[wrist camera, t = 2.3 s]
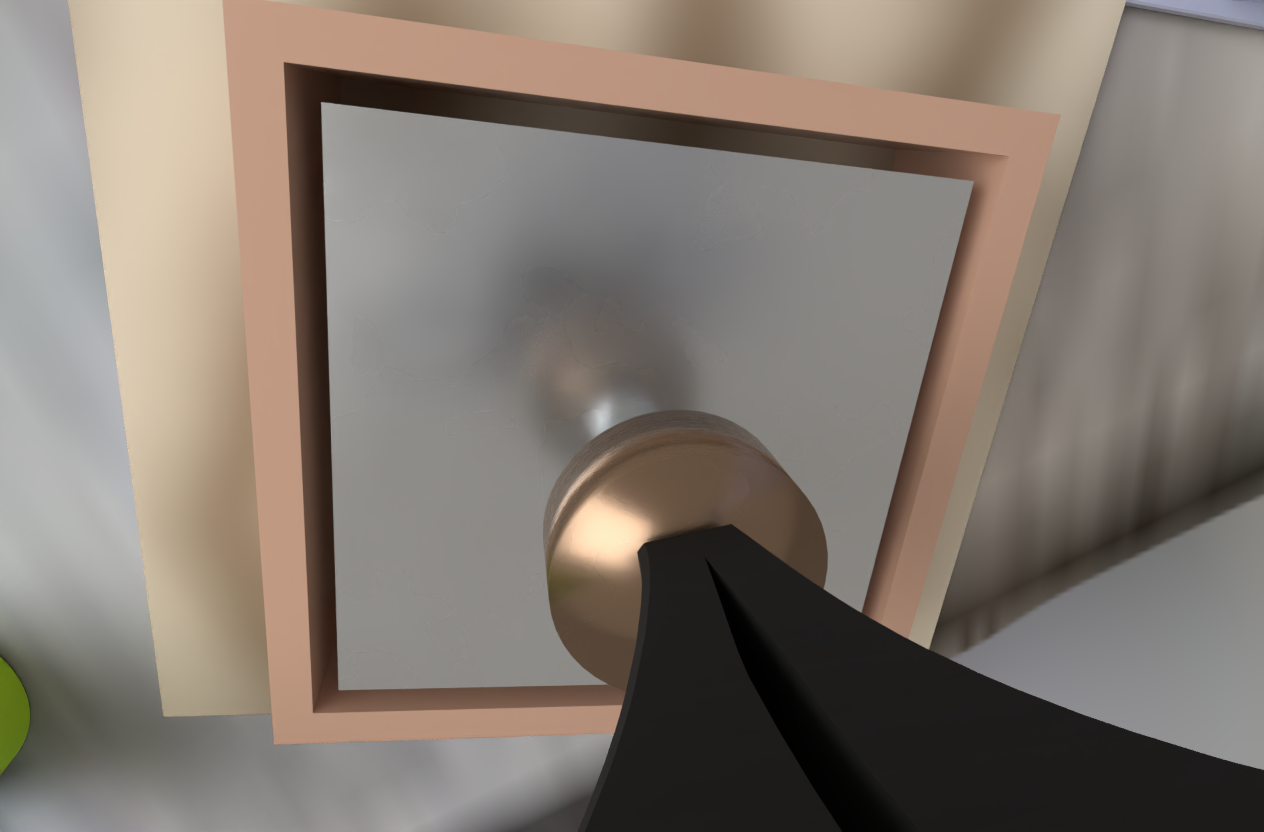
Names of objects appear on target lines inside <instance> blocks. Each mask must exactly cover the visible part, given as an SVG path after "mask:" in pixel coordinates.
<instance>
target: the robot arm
mask: <svg viewBox="0 0 1264 832" xmlns="http://www.w3.org/2000/svg"><path fill="white" fill-rule="evenodd" d="M1125 6H1131V7H1136V8H1142V9H1148V10H1153V11H1159V12H1164V13H1170V14H1175V15H1181V16H1187V17H1192V18H1198V19H1203V20H1209V21H1214V22H1220V23H1226V24H1231V25H1237V26H1242V27H1248V28H1253V29H1259V30H1264V0H1126V3H1125ZM637 555H638V561H639V567H640V573H641V579H642V593H641V608H640V616H639V624H638V633H637V640H636V646H635V652H634V656H633V661H632V666H631V670H630V675H629V679H628V684H627V689H626V693H625V697H624V701H623V705H622V708H621V712H620V716H619V719H618V723H617V726H616V729H615V733H614V736H613V739H612V742H611V745H610V748H609V751H608V754H607V757H606V760H605V763H604V766H603V769H602V771H601V774H600V776H599V779H598V782H597V784H596V787H595V790H594V792H593V795H592V797H591V800H590V803H589V805H588V808H587V810H586V813H585V815H584V818H583V820H582V823H581V825H580V827H579V830H578V832H1264V770H1261V769H1257V768H1253V767H1250V766H1246V765H1241V764H1238V763H1233V762H1230V761H1227V760H1223V759H1220V758H1216V757H1213V756H1209V755H1206V754H1203V753H1199V752H1196V751H1193V750H1190V749H1187V748H1183V747H1180V746H1177V745H1173V744H1170V743H1167V742H1164V741H1160V740H1157V739H1154V738H1151V737H1147V736H1145V735H1141V734H1138V733H1134V732H1132V731H1129V730H1126V729H1123V728H1120V727H1117V726H1114V725H1111V724H1108V723H1105V722H1103V721H1100V720H1097V719H1094V718H1091V717H1088V716H1085V715H1082V714H1080V713H1077V712H1074V711H1072V710H1069V709H1067V708H1064V707H1061V706H1059V705H1056V704H1054V703H1051V702H1048V701H1046V700H1043V699H1041V698H1038V697H1035V696H1033V695H1030V694H1028V693H1025V692H1023V691H1020V690H1017V689H1014V688H1012V687H1010V686H1008V685H1005V684H1003V683H1001V682H998V681H996V680H994V679H991V678H989V677H986V676H984V675H982V674H980V673H977V672H975V671H973V670H971V669H969V668H967V667H965V666H963V665H960V664H958V663H956V662H954V661H952V660H950V659H948V658H946V657H944V656H941V655H939V654H937V653H935V652H933V651H931V650H929V649H927V648H925V647H923V646H921V645H919V644H917V643H915V642H913V641H911V640H909V639H907V638H905V637H903V636H902V635H900V634H898V633H896V632H894V631H893V630H891V629H889V628H887V627H886V626H884V625H882V624H880V623H879V622H877V621H875V620H873V619H871V618H870V617H868V616H866V615H864V614H863V613H861V612H859V611H857V610H856V609H854V608H853V607H851V606H849V605H848V604H846V603H844V602H843V601H841V600H840V599H838V598H837V597H835V596H833V595H832V594H830V593H829V592H827V591H826V590H824V589H823V588H821V587H820V586H818V585H817V584H815V583H814V582H812V581H811V580H809V579H808V578H806V577H805V576H803V575H802V574H800V573H799V572H798V571H796V570H795V569H793V568H792V567H790V566H789V565H788V564H786V563H785V562H783V561H782V560H781V559H779V558H778V557H776V556H775V555H774V554H772V553H771V552H770V551H768V550H767V549H765V548H764V547H763V546H761V545H760V544H759V543H757V542H756V541H755V540H753V539H752V538H750V537H749V536H748V535H746V534H745V533H743V532H742V531H741V530H739V529H738V528H736V527H735V526H733V525H732V524H729V525H724V526H720V527H715V528H710V529H706V530H701V531H697V532H692V533H687V534H683V535H678V536H674V537H669V538H664V539H660V540H655V541H650V542H646V543H644V544H643V545H642V546H641V547H640V549H639V550H638V551H637Z"/></svg>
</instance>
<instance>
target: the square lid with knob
mask: <svg viewBox="0 0 1264 832" xmlns="http://www.w3.org/2000/svg"><path fill="white" fill-rule="evenodd" d="M321 113H322V146H323V180H324V214H325V248H326V282H327V315H328V349H329V383H330V417H331V451H332V484H333V518H334V552H335V586H336V620H337V653H338V687H339V690H374V689H421V688H469V687H517V686H564V685H611V686H613V687H616V688H618V689H620V690H623V691H626V689H627V684H628V679H629V675H630V670H631V666H632V661H633V656H634V652H635V646H636V640H637V633H638V624H639V616H640V608H641V593H642V579H641V573H640V567H639V561H638V555H637V551H638V550H639V549H640V547H641V546H642V545H643V544H644V543H646V542H650V541H655V540H660V539H664V538H669V537H674V536H678V535H683V534H687V533H692V532H697V531H701V530H706V529H710V528H715V527H720V526H724V525H729V524H732V525H733V526H735V527H736V528H738V529H739V530H741V531H742V532H743V533H745V534H746V535H748V536H749V537H750V538H752V539H753V540H755V541H756V542H757V543H759V544H760V545H761V546H763V547H764V548H765V549H767V550H768V551H770V552H771V553H772V554H774V555H775V556H776V557H778V558H779V559H781V560H782V561H783V562H785V563H786V564H788V565H789V566H790V567H792V568H793V569H795V570H796V571H798V572H799V573H800V574H802V575H803V576H805V577H806V578H808V579H809V580H811V581H812V582H814V583H815V584H817V585H818V586H820V587H821V588H823V589H824V590H826V591H827V592H829V593H830V594H832V595H833V596H835V597H837V598H838V599H840V600H841V601H843V602H844V603H846V604H848V605H849V606H851V607H853V608H854V609H856V610H857V611H859V612H861V613H862V609H863V605H864V601H865V597H866V594H867V590H868V586H869V582H870V578H871V574H872V571H873V567H874V563H875V559H876V555H877V551H878V548H879V544H880V540H881V536H882V532H883V528H884V525H885V521H886V517H887V513H888V509H889V505H890V502H891V498H892V494H893V490H894V486H895V482H896V479H897V475H898V471H899V467H900V463H901V459H902V456H903V452H904V448H905V444H906V440H907V436H908V433H909V429H910V425H911V421H912V417H913V413H914V410H915V406H916V402H917V398H918V394H919V391H920V387H921V383H922V379H923V375H924V371H925V368H926V364H927V360H928V356H929V352H930V348H931V345H932V341H933V337H934V333H935V329H936V325H937V322H938V318H939V314H940V310H941V306H942V302H943V299H944V295H945V291H946V287H947V283H948V279H949V276H950V272H951V268H952V264H953V260H954V256H955V253H956V249H957V245H958V241H959V237H960V233H961V230H962V226H963V222H964V218H965V214H966V210H967V207H968V203H969V199H970V195H971V191H972V187H973V184H974V181H968V180H959V179H951V178H943V177H935V176H926V175H918V174H910V173H902V172H893V171H885V170H877V169H869V168H860V167H852V166H844V165H836V164H828V163H819V162H811V161H803V160H795V159H786V158H778V157H770V156H762V155H753V154H745V153H737V152H729V151H720V150H712V149H704V148H696V147H687V146H679V145H671V144H663V143H654V142H646V141H638V140H630V139H621V138H613V137H605V136H597V135H588V134H580V133H572V132H564V131H555V130H547V129H539V128H531V127H522V126H514V125H506V124H498V123H489V122H481V121H473V120H465V119H456V118H448V117H440V116H432V115H423V114H415V113H407V112H399V111H390V110H382V109H374V108H366V107H357V106H349V105H341V104H333V103H324V102H321Z"/></svg>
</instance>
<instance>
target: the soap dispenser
mask: <svg viewBox="0 0 1264 832" xmlns="http://www.w3.org/2000/svg"><path fill="white" fill-rule="evenodd" d="M29 725H30V707H29V702H28V698H27V695H26V692H25V690H24V687H23V685H22V683H21V682H20V680H19V678H18V677H17V675H16V674H15V672H14V671H13V670H12V669H11V667H10V666H9V665H8V664H7V663H6V662H5V661H4V660H3V659H2V658H1V657H0V775H1V774H2V772H3V771H4V770H5V769H6V767H7V766H8V765H9V763H10V762H11V761H12V759H13V758H14V757H15V756H16V754H17V753H18V752H19V750H20V748H21V747H22V745H23V743H24V741H25V739H26V736H27V733H28V730H29Z"/></svg>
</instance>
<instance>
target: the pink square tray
mask: <svg viewBox="0 0 1264 832" xmlns="http://www.w3.org/2000/svg"><path fill="white" fill-rule="evenodd" d="M222 2H223V17H224V31H225V46H226V60H227V75H228V89H229V103H230V118H231V132H232V147H233V161H234V176H235V190H236V205H237V219H238V234H239V248H240V262H241V277H242V291H243V306H244V320H245V335H246V349H247V364H248V378H249V393H250V407H251V421H252V436H253V450H254V465H255V479H256V494H257V508H258V523H259V537H260V552H261V566H262V580H263V595H264V609H265V624H266V638H267V653H268V667H269V682H270V696H271V711H272V725H273V739H274V745H278V744H307V743H337V742H367V741H396V740H426V739H456V738H486V737H515V736H545V735H575V734H605V733H615V729H616V726H617V723H618V719H619V716H620V712H621V708H622V705H623V701H624V697H625V693H626V691H623V690H620V689H618V688H616V687H613V686H611V685H564V686H517V687H469V688H421V689H374V690H339V687H338V653H337V620H336V586H335V552H334V518H333V484H332V451H331V417H330V383H329V349H328V315H327V282H326V248H325V214H324V180H323V146H322V113H321V102H324V103H333V104H340V78H341V79H349V80H357V81H365V82H373V83H381V84H388V85H396V86H404V87H412V88H420V89H428V90H435V91H443V92H451V93H459V94H467V95H475V96H482V97H490V98H498V99H506V100H514V101H522V102H529V103H537V104H545V105H553V106H561V107H569V108H577V109H584V110H592V111H600V112H608V113H616V114H624V115H631V116H639V117H647V118H655V119H663V120H671V121H678V122H686V123H694V124H702V125H710V126H718V127H725V128H733V129H741V130H749V131H757V132H765V133H772V134H780V135H788V136H796V137H804V138H812V139H820V140H827V141H835V142H843V143H851V144H859V145H867V146H874V147H882V148H890V149H897V151H896V156H895V160H894V165H893V169H892V171H893V172H902V173H910V174H918V175H926V176H935V177H943V178H951V179H959V180H968V181H974V184H973V187H972V191H971V195H970V199H969V203H968V207H967V210H966V214H965V218H964V222H963V226H962V230H961V233H960V237H959V241H958V245H957V249H956V253H955V256H954V260H953V264H952V268H951V272H950V276H949V279H948V283H947V287H946V291H945V295H944V299H943V302H942V306H941V310H940V314H939V318H938V322H937V325H936V329H935V333H934V337H933V341H932V345H931V348H930V352H929V356H928V360H927V364H926V368H925V371H924V375H923V379H922V383H921V387H920V391H919V394H918V398H917V402H916V406H915V410H914V413H913V417H912V421H911V425H910V429H909V433H908V436H907V440H906V444H905V448H904V452H903V456H902V459H901V463H900V467H899V471H898V475H897V479H896V482H895V486H894V490H893V494H892V498H891V502H890V505H889V509H888V513H887V517H886V521H885V525H884V528H883V532H882V536H881V540H880V544H879V548H878V551H877V555H876V559H875V563H874V567H873V571H872V574H871V578H870V582H869V586H868V590H867V594H866V597H865V601H864V605H863V609H862V613H863V614H864V615H866V616H868V617H870V618H871V619H873V620H875V621H877V622H879V623H880V624H882V625H884V626H886V627H887V628H889V629H891V630H893V631H894V632H896V633H898V634H900V635H902V636H903V637H905V638H907V639H908V638H909V635H910V631H911V628H912V625H913V621H914V618H915V614H916V611H917V607H918V604H919V600H920V597H921V594H922V590H923V587H924V583H925V580H926V576H927V573H928V570H929V566H930V563H931V559H932V556H933V552H934V549H935V546H936V542H937V539H938V535H939V532H940V528H941V525H942V521H943V518H944V515H945V511H946V508H947V504H948V501H949V497H950V494H951V491H952V487H953V484H954V480H955V477H956V473H957V470H958V467H959V463H960V460H961V456H962V453H963V449H964V446H965V442H966V439H967V436H968V432H969V429H970V425H971V422H972V418H973V415H974V412H975V408H976V405H977V401H978V398H979V394H980V391H981V387H982V384H983V381H984V377H985V374H986V370H987V367H988V363H989V360H990V357H991V353H992V350H993V346H994V343H995V339H996V336H997V333H998V329H999V326H1000V322H1001V319H1002V315H1003V312H1004V308H1005V305H1006V302H1007V298H1008V295H1009V291H1010V288H1011V284H1012V281H1013V278H1014V274H1015V271H1016V267H1017V264H1018V260H1019V257H1020V254H1021V250H1022V247H1023V243H1024V240H1025V236H1026V233H1027V229H1028V226H1029V223H1030V219H1031V216H1032V212H1033V209H1034V205H1035V202H1036V199H1037V195H1038V192H1039V188H1040V185H1041V181H1042V178H1043V175H1044V171H1045V168H1046V164H1047V161H1048V157H1049V154H1050V150H1051V147H1052V144H1053V140H1054V137H1055V133H1056V130H1057V126H1058V123H1059V120H1060V116H1061V115H1059V114H1052V113H1045V112H1038V111H1032V110H1025V109H1018V108H1011V107H1004V106H997V105H990V104H983V103H976V102H969V101H962V100H955V99H948V98H941V97H934V96H927V95H920V94H913V93H906V92H900V91H893V90H886V89H879V88H872V87H865V86H858V85H851V84H844V83H837V82H830V81H823V80H816V79H809V78H802V77H795V76H788V75H781V74H774V73H768V72H761V71H754V70H747V69H740V68H733V67H726V66H719V65H712V64H705V63H698V62H691V61H684V60H677V59H670V58H663V57H656V56H649V55H642V54H635V53H629V52H622V51H615V50H608V49H601V48H594V47H587V46H580V45H573V44H566V43H559V42H552V41H545V40H538V39H531V38H524V37H517V36H510V35H503V34H497V33H490V32H483V31H476V30H469V29H462V28H455V27H448V26H441V25H434V24H427V23H420V22H413V21H406V20H399V19H392V18H385V17H378V16H371V15H365V14H358V13H351V12H344V11H337V10H330V9H323V8H316V7H309V6H302V5H295V4H288V3H281V2H274V1H267V0H222Z"/></svg>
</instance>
